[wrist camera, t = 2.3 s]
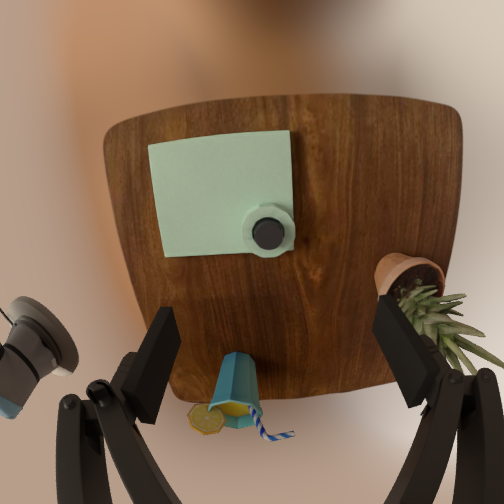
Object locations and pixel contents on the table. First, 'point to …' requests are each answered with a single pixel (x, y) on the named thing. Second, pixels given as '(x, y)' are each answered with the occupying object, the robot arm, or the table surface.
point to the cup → (233, 400)
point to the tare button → (268, 234)
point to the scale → (222, 192)
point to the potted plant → (429, 306)
